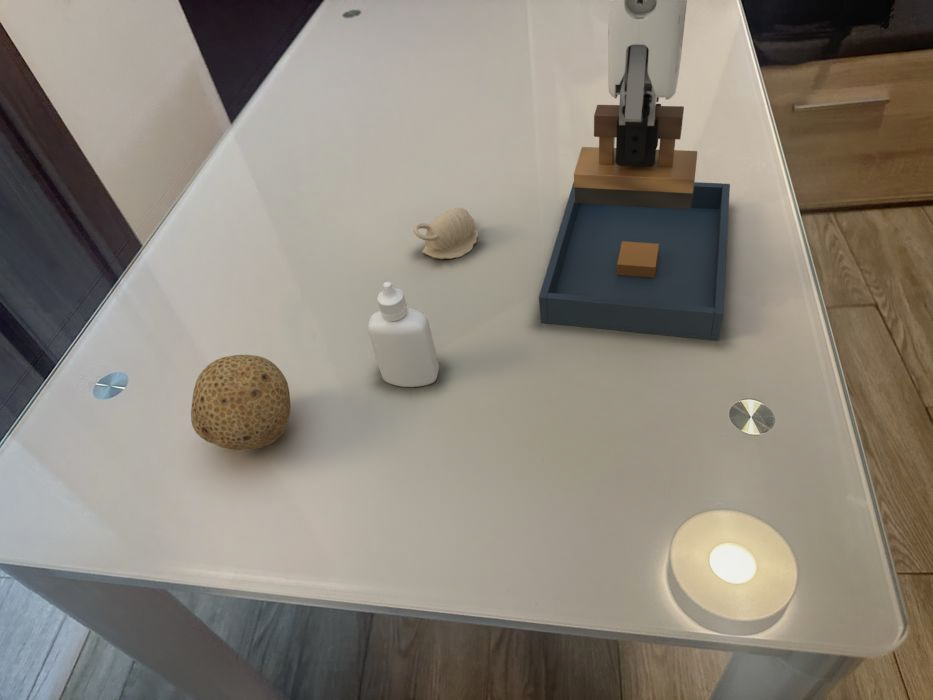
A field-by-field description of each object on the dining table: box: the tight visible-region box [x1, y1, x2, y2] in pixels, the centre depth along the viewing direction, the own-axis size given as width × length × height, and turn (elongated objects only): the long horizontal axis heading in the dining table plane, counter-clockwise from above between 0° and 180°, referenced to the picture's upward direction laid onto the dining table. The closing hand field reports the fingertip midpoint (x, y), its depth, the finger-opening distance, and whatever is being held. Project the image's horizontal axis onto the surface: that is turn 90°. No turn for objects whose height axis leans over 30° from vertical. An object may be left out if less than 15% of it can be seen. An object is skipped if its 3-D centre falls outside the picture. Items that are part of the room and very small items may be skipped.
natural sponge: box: [190, 354, 292, 452], centre depth 64 cm, size 9×9×10 cm
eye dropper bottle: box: [367, 281, 440, 388], centre depth 67 cm, size 4×6×12 cm
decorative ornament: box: [413, 207, 479, 260], centre depth 82 cm, size 4×8×5 cm, turn 122°
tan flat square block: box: [617, 241, 659, 278], centre depth 77 cm, size 4×4×2 cm
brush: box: [573, 104, 698, 210], centre depth 61 cm, size 10×4×8 cm, turn 75°
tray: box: [538, 181, 731, 341], centre depth 77 cm, size 18×22×4 cm
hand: (636, 154), depth 61 cm, fingers closed on brush, 2 cm apart
